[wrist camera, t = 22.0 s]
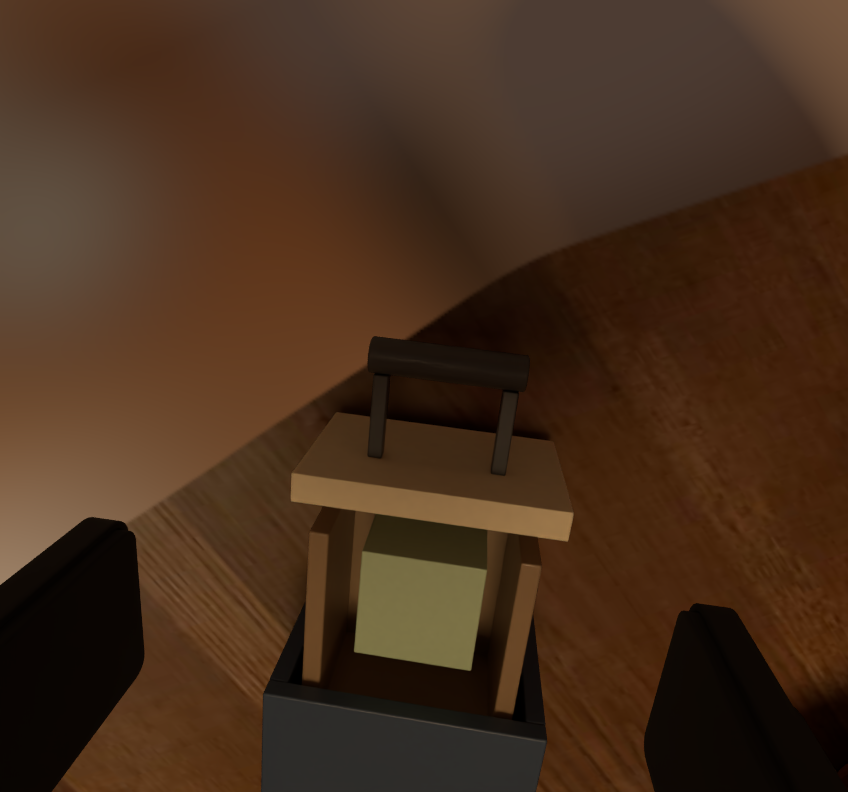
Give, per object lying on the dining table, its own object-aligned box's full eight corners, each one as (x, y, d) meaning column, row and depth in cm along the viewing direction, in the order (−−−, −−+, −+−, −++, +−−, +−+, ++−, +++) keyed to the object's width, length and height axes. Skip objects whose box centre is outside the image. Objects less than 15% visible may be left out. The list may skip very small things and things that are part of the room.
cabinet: (319, 569, 32) (262, 693, 24) (532, 602, 31) (547, 741, 23) (309, 755, 36) (258, 914, 28) (495, 787, 36) (498, 960, 27)
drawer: (342, 310, 27) (295, 344, 20) (573, 338, 26) (601, 383, 19) (323, 625, 32) (282, 730, 26) (513, 655, 31) (520, 771, 25)
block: (383, 492, 28) (361, 551, 23) (487, 507, 28) (487, 570, 23) (374, 581, 30) (353, 652, 25) (473, 596, 29) (470, 671, 24)
